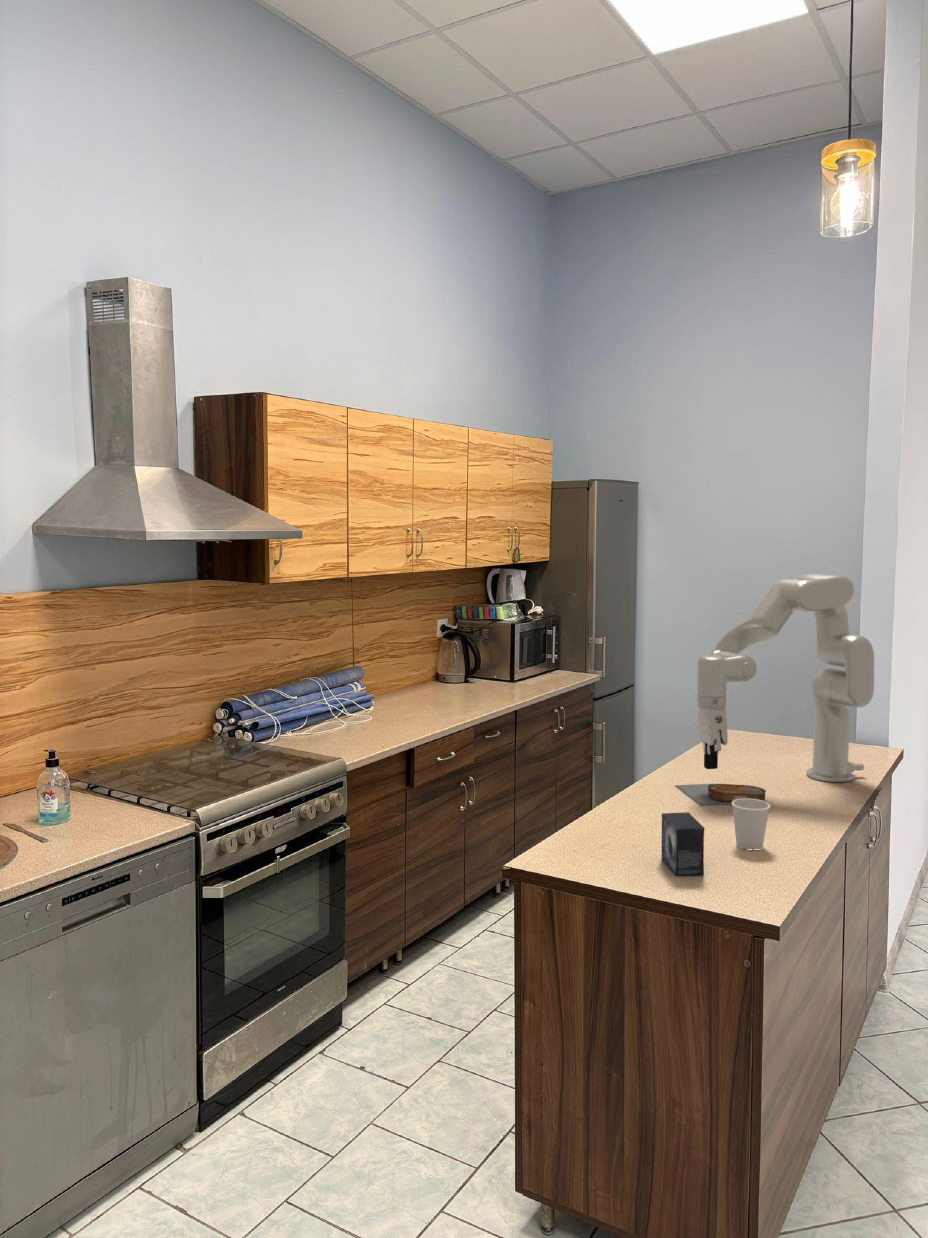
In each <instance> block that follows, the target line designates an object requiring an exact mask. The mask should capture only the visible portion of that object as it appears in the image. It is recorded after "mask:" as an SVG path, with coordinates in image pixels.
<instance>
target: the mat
mask: <svg viewBox="0 0 928 1238" xmlns="http://www.w3.org/2000/svg"><path fill="white" fill-rule="evenodd" d="M711 784H712V783H695V784H676V785H674V786H675V787H676V788H677V789H678V790H679V791H681V792H682V793H684V794H685V795H686V796H687V797H689V799H691V800H692V801H694V802H695V803H696V804H698V805H699V806H714V805H715V806H717V805H732V802H728V801H720V800H715V799H713V798H711V797H710V796H709V795H708V786H709V785H711Z"/></svg>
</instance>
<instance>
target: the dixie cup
mask: <svg viewBox="0 0 928 1238" xmlns="http://www.w3.org/2000/svg"><path fill="white" fill-rule="evenodd" d="M731 805H732V813H733V823H734V831H735V832H734V834H735V844H736V847H737V846H738V847H741V848H743V849H752V850H754V849H761V848H762V847H763V846H764V842H765V837H766V831H767V823H768V817H769V812H770V809H771V804H769V802H766V801H765V800H764V801H762V800H758V799H750V798H742V799H736V800H734V801H732V804H731ZM738 847H737V848H738ZM763 848H764V847H763ZM763 848H762V849H763ZM743 849H742V850H743ZM762 849H761V850H762Z"/></svg>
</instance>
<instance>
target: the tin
mask: <svg viewBox="0 0 928 1238" xmlns="http://www.w3.org/2000/svg"><path fill="white" fill-rule="evenodd" d="M710 784H711V785H709V786H708V795H709V796H710V797H711V798H713V799H715V800H720V801H728V802H732V801H734V800H736V799H742V798H750V799H758V800H762V801H765V800H766V793H767V791H766V789H765V788H762V787H759V786H756V785H748V784H747V785H746V784H730V783H710Z"/></svg>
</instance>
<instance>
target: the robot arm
mask: <svg viewBox="0 0 928 1238" xmlns="http://www.w3.org/2000/svg"><path fill="white" fill-rule="evenodd" d="M854 594H855V588H854V584H853V582H852V581H851V580H850V579H849V578H848V577H847V576H843V575H838V574H837V575H835V574H834V575H833V574H825V573H823V574H822V573H808V574H803V575H801V576H799V577H798V579H797V578H796V579H793V578H784V579H779V580H777V581H776V582H775V583H774V584H772V586H771V588H770V589H769V590H768V592H767V594H766V595H765V596H764V597H763V598H762V600H761V602H760V603H759V605H758V606H757V608H756V609H755V610H754V612H752V614H751V616H750V617H748V619H746V620H745V621H743V622H742V623H740V624H738V625H737V626H736V627H734V628H732V629H731V630H730V631H728V632H727V633H725V634H724V635H723V636H722V637H721V638H720V640H719V641H718V642H717V644H716V645H715V646H714V648H713V650H712V651H711V652H710V655H706V654H705V655H701V656H699V658H698V661H697V688H696V689H697V694H696V695H697V697H696V700H697V701H696V703H697V705H696V707H697V708H698V713H697V732H696V733H697V738H698V739H699V740H700V741H701V743H702V745H703V746H702V747H703V756H704V757H703V768H705V769H706V770H716V769H718V762H719V758H718V757H719V753H720V752H721V751H722V745H723V746H727V745H728V742H729V741H728V738H729V737H728V736H729V735H728V717H727V711H726V709H727V683H728V682H729V683H746V682H749V681H751V680H753V679H754V677H755V676H756V674H757V670H758V666H757V663H756V662H755V660H754V659H753V658H752V657H750V656H748V655H747V654H742V653H741V652H742V651H744V650H745V649H746V648H748V647H749V646H752V645H755V644H758V643H761V642H764V641H767V640H770V639H773V638H775V637H776V636H777V635H778V634H779V633H780V632H781V630H782V629H783V627H784V625H785V624H786V623H787V622H788V620H789V619H790V617H791V616H792V614H793V613H794V612H795V611H799V612H800V611H801V612H813V613H814V616H815V623H816V653H817V654H816V655H817V657H818V659H819V661H820V662H822V663H824V664H827V665H831V666H835V667H836V666H837V667H842V668H844V669H845V670H843V669H837V668H824V669H820V670H819V671H818V672H816V673H815V674H814V676H813V678H812V680H811V692H812V697H813V704H814V705H813V707H814V719H813V720H814V721H813V722H814V723H813V745H812V746H813V749H812V750H813V752H812V768H809V769H807V770H806V776H807V777H809V778H811V779H812V780H817V781H822V782H829V783H830V782H831V783H847V782H851V781H853V780H854V774H853V772H855V771H858V772H859V771H864V769H865V766H864V763H855V762H851V761H849V749H850V747H849V746H850V726H851V715H850V712H849V709H848V707H851V708H852V707H853V708H863V707H866V706H867V705H869V704H870V703H871V701H872V699H873V696H874V694H875V693H874V691H875V652H874V647H873V646H872V643H871V641H869V639H868V638H867V637H865V636H862V635H860V634H853V633H852V634H851V633H850V629H849V628H850V627H849V615H848V611H847V609H846V606H845V605H847V604H849V602H850V601H851V600H852V598H853V597H854Z"/></svg>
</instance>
